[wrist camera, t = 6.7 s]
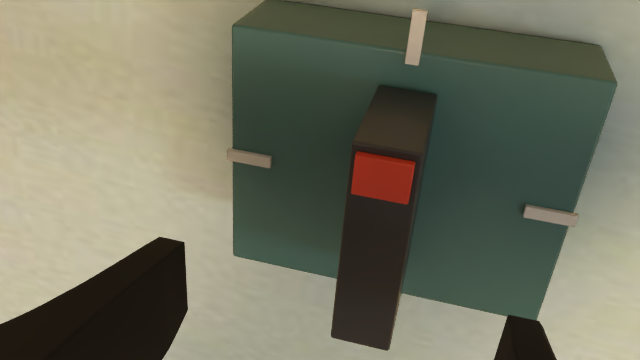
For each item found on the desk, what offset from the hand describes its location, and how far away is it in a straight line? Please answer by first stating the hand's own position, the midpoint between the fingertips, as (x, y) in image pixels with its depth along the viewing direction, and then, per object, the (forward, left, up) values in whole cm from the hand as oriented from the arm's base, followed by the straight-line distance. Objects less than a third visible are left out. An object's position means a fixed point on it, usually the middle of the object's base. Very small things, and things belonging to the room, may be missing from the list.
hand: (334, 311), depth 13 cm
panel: (-1, 0, -8) cm, 8 cm away
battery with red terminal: (0, 0, -5) cm, 5 cm away
